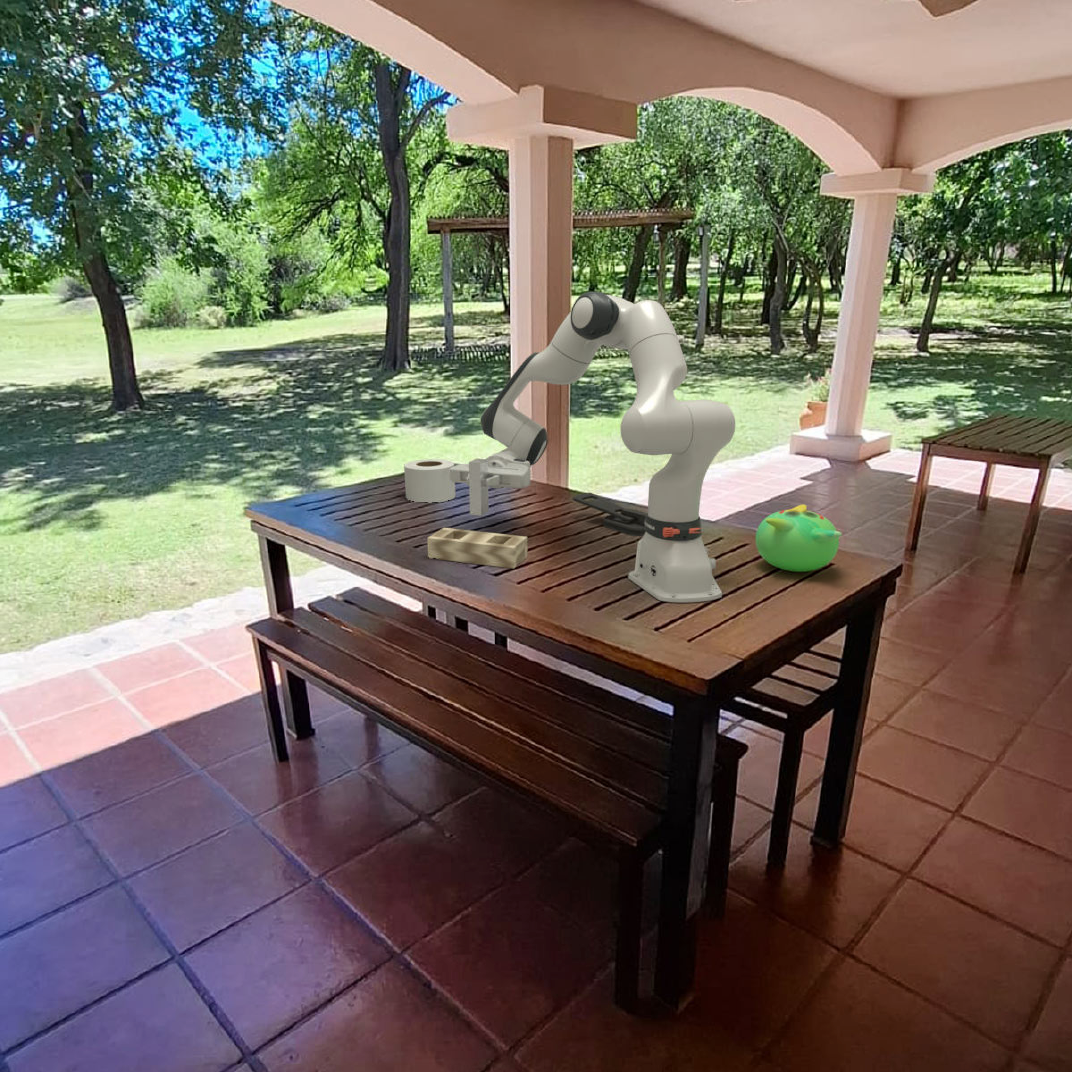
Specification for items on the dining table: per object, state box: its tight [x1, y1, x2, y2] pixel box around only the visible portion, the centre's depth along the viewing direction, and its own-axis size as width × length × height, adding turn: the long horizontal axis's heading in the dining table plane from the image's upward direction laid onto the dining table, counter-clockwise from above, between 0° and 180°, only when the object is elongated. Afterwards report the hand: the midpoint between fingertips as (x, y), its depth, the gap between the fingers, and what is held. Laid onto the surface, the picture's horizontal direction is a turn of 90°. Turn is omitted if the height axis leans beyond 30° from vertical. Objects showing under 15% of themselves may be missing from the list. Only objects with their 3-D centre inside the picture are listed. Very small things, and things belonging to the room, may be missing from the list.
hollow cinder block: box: [426, 527, 528, 569], centre depth 177 cm, size 22×9×5 cm, turn 71°
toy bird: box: [755, 503, 843, 573], centre depth 169 cm, size 18×17×15 cm
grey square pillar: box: [468, 458, 490, 516], centre depth 180 cm, size 3×4×13 cm, turn 160°
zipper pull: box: [572, 492, 648, 537], centre depth 204 cm, size 9×7×25 cm
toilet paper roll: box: [403, 458, 456, 504], centre depth 231 cm, size 16×15×11 cm
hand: (477, 482), depth 179 cm, fingers closed on grey square pillar, 3 cm apart
